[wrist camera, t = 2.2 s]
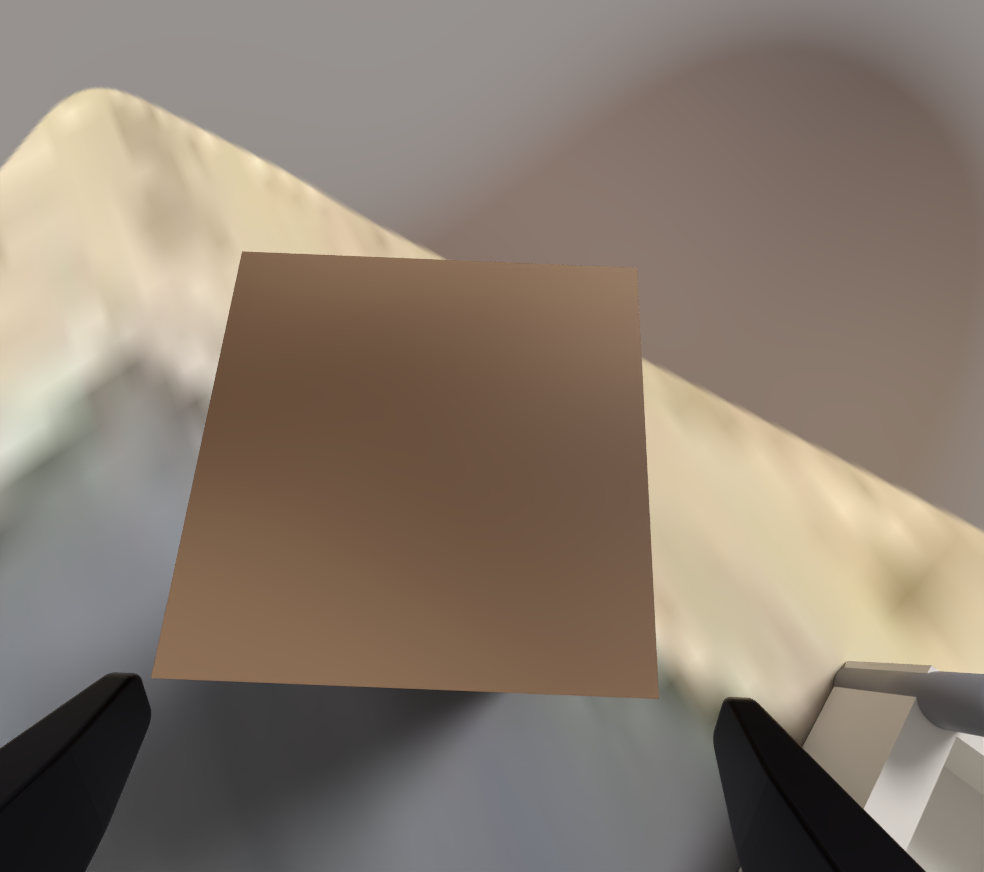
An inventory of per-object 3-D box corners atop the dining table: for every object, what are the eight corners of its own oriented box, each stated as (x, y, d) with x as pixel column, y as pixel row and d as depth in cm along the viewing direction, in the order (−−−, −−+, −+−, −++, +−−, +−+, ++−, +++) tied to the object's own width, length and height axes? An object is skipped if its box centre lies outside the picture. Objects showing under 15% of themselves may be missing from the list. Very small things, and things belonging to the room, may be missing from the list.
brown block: (536, 659, 19) (658, 699, 6) (381, 653, 19) (151, 679, 6) (538, 507, 21) (637, 267, 7) (396, 501, 21) (242, 250, 7)
